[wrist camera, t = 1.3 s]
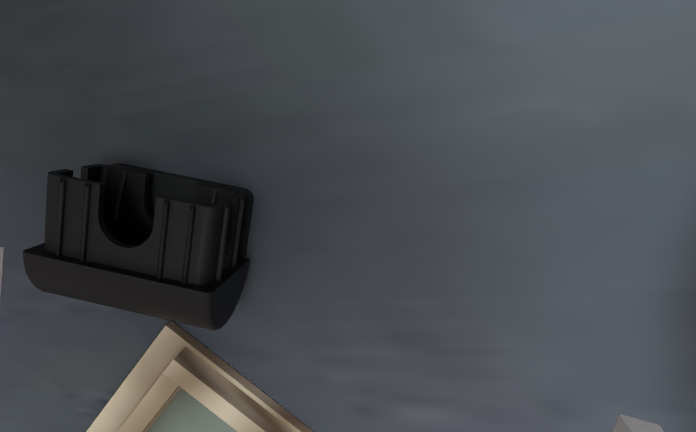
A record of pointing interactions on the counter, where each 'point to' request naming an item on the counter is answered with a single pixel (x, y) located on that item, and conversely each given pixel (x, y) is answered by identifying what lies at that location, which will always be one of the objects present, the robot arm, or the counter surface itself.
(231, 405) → the picture frame
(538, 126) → the counter surface
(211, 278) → the end cap
